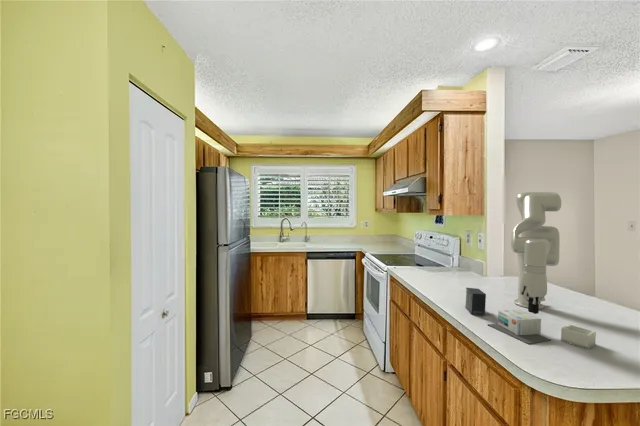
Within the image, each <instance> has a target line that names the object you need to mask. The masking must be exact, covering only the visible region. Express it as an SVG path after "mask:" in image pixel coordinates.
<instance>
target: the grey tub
mask: <svg viewBox="0 0 640 426" xmlns="http://www.w3.org/2000/svg"><path fill="white" fill-rule="evenodd" d="M596 334H597V331H596V330H592V329H589V328H586V327H582V326H579V325H575V324H572V323H568V324H566V325H565V326H563V327H561V334H560V341H561V342H563V341H564V342H565V343H566V342H568V344H570V343H571V344H570V345H573V344H574V346H577V347H579V346H580V347H579V348H582V347H583V348H582V349H585V348H586V349H585V350H590V349H591V348H592V347H594V346H595V345H596V339H597V338H596V336H597V335H596ZM593 345H594V346H593ZM589 348H590V349H589Z"/></svg>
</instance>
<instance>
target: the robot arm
mask: <svg viewBox="0 0 640 426" xmlns="http://www.w3.org/2000/svg"><path fill="white" fill-rule="evenodd" d="M515 202H516V206H517V208H518V211H519V213H520V216H521V220H520V221H519V222H518V223H517V224H516V225H515V226H514V227H513V229H512V231H511V237H510V239H511V240H510V248H511V250H512V252H513V253H515V254H517V260H518V261H517V262H518V283H517V284H518V287H517V298H516V299H515V300H514V301H513V302H514V304H515V305H517V306H519V307H523V308H527V311H528V313H530V314H531V313H532V314H533V315H536V314H537V315H538V314H539V313H540V311H539V310H541V309H544V304H543V303H542V302H545V301H546V298H545V296H546V295H548V280H547V278H548V277H547V267H556V266H558V265H559V262H560V246H561V245H560V239H561V238H560V231H559V229H558V228H557V227H556V226H552V225H551V226H550V225H549V226H547V225H545V224H546V221H547V220H546V212H559V211H560V210H561V208H562V198H561V196H560V195H559V194H558V193H557V192H556V191H555V192H552V191H549V192H548V191H546V192H545V191H543V192H538V191H537V192H534V191H531V192H522V193H519V194H517V195H516V200H515Z"/></svg>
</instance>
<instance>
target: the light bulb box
mask: <svg viewBox="0 0 640 426" xmlns="http://www.w3.org/2000/svg"><path fill="white" fill-rule="evenodd" d="M497 319H498V322H497V323H498V325H499V326H501V327H503V328H505V329H507V330H509V331H511V332H512V333H514V334H516V335H532V334H539V335H541V334H542V331H541V330H542V329H541V328H542V318H540V317H538V316H536V315H535V314H533V313H532V314H531V313H530V312H527V311H525V310H523V309H518V308H517V309H504V310H503V309H501V310H500V309H499V310H498V318H497Z"/></svg>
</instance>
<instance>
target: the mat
mask: <svg viewBox="0 0 640 426" xmlns="http://www.w3.org/2000/svg"><path fill="white" fill-rule="evenodd" d="M487 326H488V327H491V328H493V329H495V330H497V331H499V332H501V333H503V334H506V335H508V336H510V337H512V338H514V339H516V340H517V341H521V342H523V343H525V344H527V345H532V344H537V343H538V344H539V343H545V342H550V341H552V339H551V338H548V337H546V336H544V335H542V334H532V335H516V334H514V333H512V332H511V331H509V330H507V329H505V328H503V327H501V326H499V325H498V322H496V323H488V324H487Z"/></svg>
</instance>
